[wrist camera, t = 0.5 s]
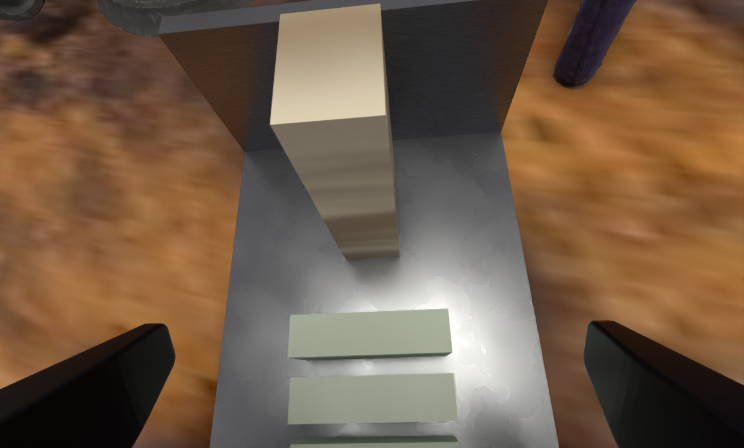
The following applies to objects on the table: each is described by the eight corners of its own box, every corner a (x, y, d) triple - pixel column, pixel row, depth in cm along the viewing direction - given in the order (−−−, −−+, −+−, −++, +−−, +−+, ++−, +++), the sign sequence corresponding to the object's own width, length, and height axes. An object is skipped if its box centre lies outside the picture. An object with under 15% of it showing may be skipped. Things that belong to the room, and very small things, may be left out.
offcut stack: (458, 482, 17) (467, 503, 14) (301, 483, 17) (279, 503, 14) (442, 318, 19) (448, 308, 16) (307, 323, 20) (290, 315, 17)
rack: (572, 562, 16) (794, 817, 7) (206, 558, 17) (-30, 766, 8) (495, 128, 24) (545, -26, 15) (252, 147, 26) (162, 17, 16)
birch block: (399, 256, 21) (385, 115, 10) (345, 259, 21) (269, 124, 10) (396, 190, 22) (380, 3, 11) (345, 194, 22) (280, 14, 11)
